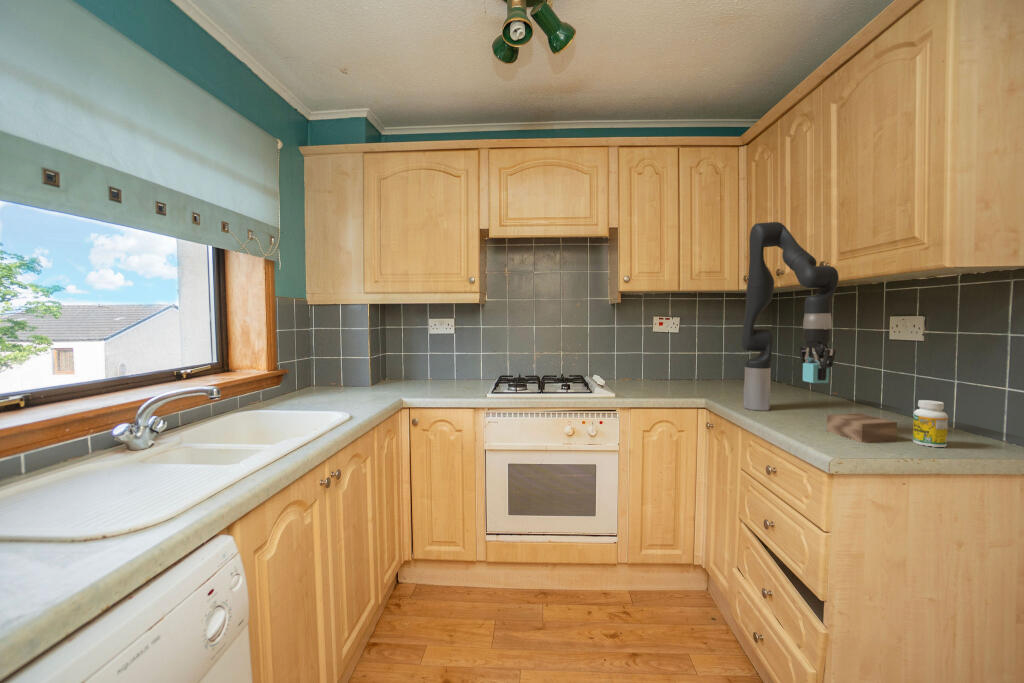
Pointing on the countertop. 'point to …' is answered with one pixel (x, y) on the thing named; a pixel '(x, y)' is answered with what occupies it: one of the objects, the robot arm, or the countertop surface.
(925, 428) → the supplement bottle
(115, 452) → the countertop surface
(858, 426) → the walnut box
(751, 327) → the robot arm
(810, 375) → the teal block
